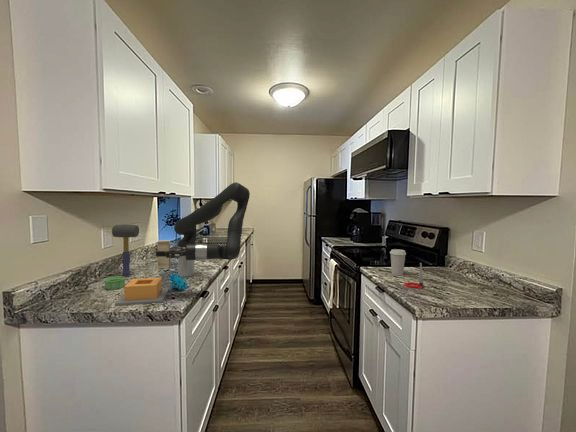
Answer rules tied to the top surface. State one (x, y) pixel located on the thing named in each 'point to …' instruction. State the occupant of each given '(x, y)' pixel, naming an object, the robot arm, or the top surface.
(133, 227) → the rubber mallet
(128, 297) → the orange square frame
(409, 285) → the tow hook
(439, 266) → the top surface
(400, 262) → the coffee cup
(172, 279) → the gear
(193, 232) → the robot arm
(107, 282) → the ramekin
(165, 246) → the tall wooden block
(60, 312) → the top surface
